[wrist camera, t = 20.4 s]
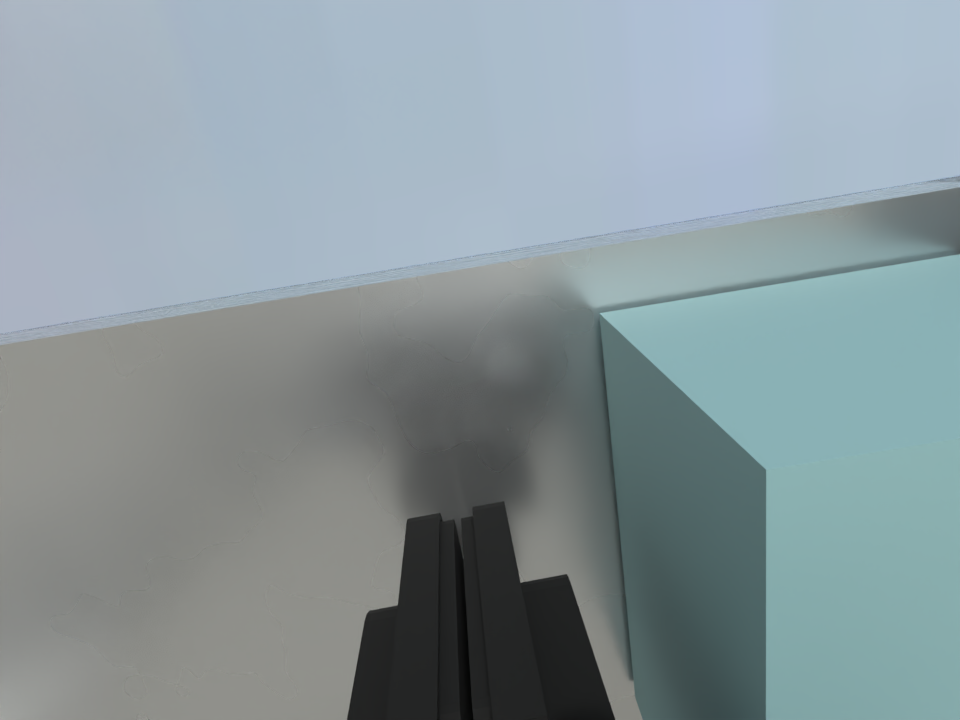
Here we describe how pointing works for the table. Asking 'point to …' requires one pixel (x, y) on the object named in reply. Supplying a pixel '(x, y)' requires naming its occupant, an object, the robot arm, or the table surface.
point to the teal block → (792, 497)
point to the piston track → (346, 455)
